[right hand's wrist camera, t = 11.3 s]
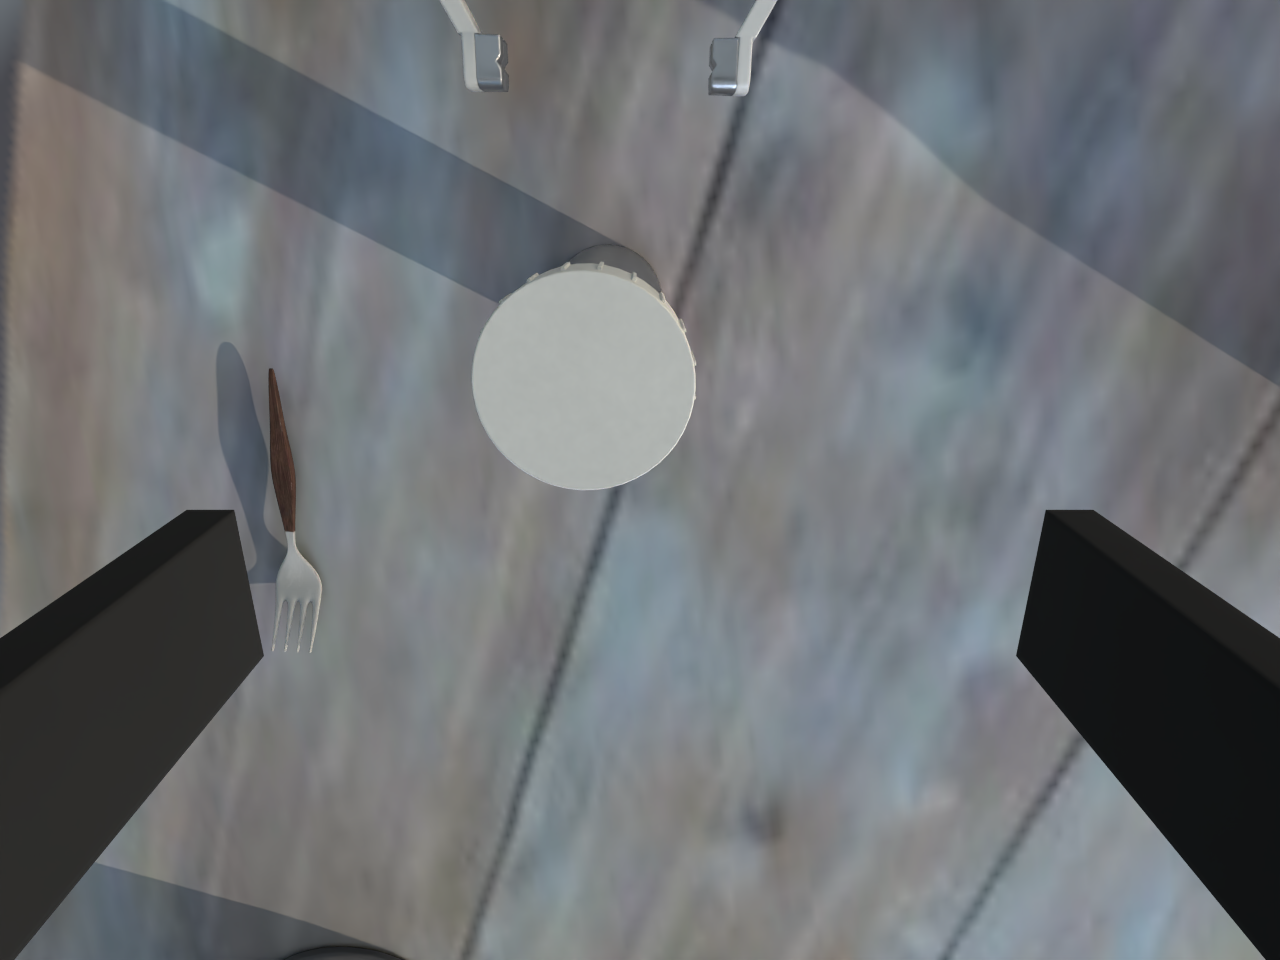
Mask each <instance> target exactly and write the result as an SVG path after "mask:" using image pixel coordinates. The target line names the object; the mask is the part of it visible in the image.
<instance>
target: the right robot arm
mask: <svg viewBox="0 0 1280 960" xmlns="http://www.w3.org/2000/svg"><path fill="white" fill-rule="evenodd" d="M263 656H264V654H263V650H262V645H261V640H260V635H259V630H258V625H257V620H256V615H255V610H254V605H253V600H252V595H251V591H250V586H249V581H248V576H247V571H246V566H245V561H244V556H243V551H242V546H241V541H240V536H239V532H238V527H237V522H236V517H235V512H234V510H186V511H185V512H183V513H182V514H180V515H179V516H177V517H176V518H174V519H173V520H171V521H170V522H169V523H167V524H166V525H164V526H163V527H161V528H160V529H158V530H157V531H155V532H154V533H153V534H151V535H150V536H148V537H147V538H145V539H144V540H142V541H141V542H140V543H138V544H137V545H135V546H134V547H132V548H131V549H129V550H128V551H126V552H125V553H124V554H122V555H121V556H119V557H118V558H116V559H115V560H113V561H112V562H110V563H109V564H108V565H106V566H105V567H103V568H102V569H100V570H99V571H97V572H96V573H94V574H93V575H92V576H90V577H89V578H87V579H86V580H84V581H83V582H81V583H80V584H79V585H77V586H76V587H74V588H73V589H71V590H70V591H68V592H67V593H65V594H64V595H63V596H61V597H60V598H58V599H57V600H55V601H54V602H52V603H51V604H49V605H48V606H47V607H45V608H44V609H42V610H41V611H39V612H38V613H36V614H35V615H33V616H32V617H31V618H29V619H28V620H26V621H25V622H23V623H22V624H20V625H19V626H18V627H16V628H15V629H13V630H12V631H10V632H9V633H7V634H6V635H4V636H3V637H2V638H0V960H14V959H15V958H16V957H17V956H18V954H19V953H20V952H21V951H22V950H23V948H24V947H25V946H26V945H27V944H28V942H29V941H30V940H31V939H32V937H33V936H34V935H35V934H36V933H37V931H38V930H39V929H40V928H41V926H42V925H43V924H44V923H45V922H46V920H47V919H48V918H49V917H50V916H51V914H52V913H53V912H54V911H55V909H56V908H57V907H58V906H59V905H60V903H61V902H62V901H63V900H64V898H65V897H66V896H67V895H68V894H69V892H70V891H71V890H72V889H73V888H74V886H75V885H76V884H77V883H78V881H79V880H80V879H81V878H82V877H83V875H84V874H85V873H86V872H87V870H88V869H89V868H90V867H91V866H92V864H93V863H94V862H95V861H96V860H97V858H98V857H99V856H100V855H101V853H102V852H103V851H104V850H105V849H106V847H107V846H108V845H109V844H110V842H111V841H112V840H113V839H114V838H115V836H116V835H117V834H118V833H119V832H120V830H121V829H122V828H123V827H124V825H125V824H126V823H127V822H128V821H129V819H130V818H131V817H132V816H133V814H134V813H135V812H136V811H137V810H138V808H139V807H140V806H141V805H142V804H143V802H144V801H145V800H146V799H147V797H148V796H149V795H150V794H151V793H152V791H153V790H154V789H155V788H156V786H157V785H158V784H159V783H160V782H161V780H162V779H163V778H164V777H165V776H166V774H167V773H168V772H169V771H170V769H171V768H172V767H173V766H174V765H175V763H176V762H177V761H178V760H179V758H180V757H181V756H182V755H183V754H184V752H185V751H186V750H187V749H188V748H189V746H190V745H191V744H192V743H193V741H194V740H195V739H196V738H197V737H198V735H199V734H200V733H201V732H202V730H203V729H204V728H205V727H206V726H207V724H208V723H209V722H210V721H211V720H212V718H213V717H214V716H215V715H216V713H217V712H218V711H219V710H220V709H221V707H222V706H223V705H224V704H225V702H226V701H227V700H228V699H229V698H230V696H231V695H232V694H233V693H234V692H235V690H236V689H237V688H238V687H239V685H240V684H241V683H242V682H243V681H244V679H245V678H246V677H247V676H248V674H249V673H250V672H251V671H252V670H253V668H254V667H255V666H256V665H257V664H258V662H259V661H260V660H261V659H262V657H263ZM1016 656H1017V657H1018V659H1019V660H1020V661H1021V662H1022V664H1023V665H1024V666H1025V667H1026V668H1027V670H1028V671H1029V672H1030V673H1031V674H1032V676H1033V677H1034V678H1035V679H1036V681H1037V682H1038V683H1039V684H1040V685H1041V687H1042V688H1043V689H1044V690H1045V692H1046V693H1047V694H1048V695H1049V696H1050V698H1051V699H1052V700H1053V701H1054V702H1055V704H1056V705H1057V706H1058V707H1059V709H1060V710H1061V711H1062V712H1063V713H1064V715H1065V716H1066V717H1067V718H1068V720H1069V721H1070V722H1071V723H1072V724H1073V726H1074V727H1075V728H1076V729H1077V730H1078V732H1079V733H1080V734H1081V735H1082V737H1083V738H1084V739H1085V740H1086V741H1087V743H1088V744H1089V745H1090V746H1091V748H1092V749H1093V750H1094V751H1095V752H1096V754H1097V755H1098V756H1099V757H1100V758H1101V760H1102V761H1103V762H1104V763H1105V765H1106V766H1107V767H1108V768H1109V769H1110V771H1111V772H1112V773H1113V774H1114V776H1115V777H1116V778H1117V779H1118V780H1119V782H1120V783H1121V784H1122V785H1123V786H1124V788H1125V789H1126V790H1127V791H1128V793H1129V794H1130V795H1131V796H1132V797H1133V799H1134V800H1135V801H1136V802H1137V804H1138V805H1139V806H1140V807H1141V808H1142V810H1143V811H1144V812H1145V813H1146V814H1147V816H1148V817H1149V818H1150V819H1151V821H1152V822H1153V823H1154V824H1155V825H1156V827H1157V828H1158V829H1159V830H1160V832H1161V833H1162V834H1163V835H1164V836H1165V838H1166V839H1167V840H1168V841H1169V842H1170V844H1171V845H1172V846H1173V847H1174V849H1175V850H1176V851H1177V852H1178V853H1179V855H1180V856H1181V857H1182V858H1183V860H1184V861H1185V862H1186V863H1187V864H1188V866H1189V867H1190V868H1191V869H1192V870H1193V872H1194V873H1195V874H1196V875H1197V877H1198V878H1199V879H1200V880H1201V881H1202V883H1203V884H1204V885H1205V886H1206V888H1207V889H1208V890H1209V891H1210V892H1211V894H1212V895H1213V896H1214V897H1215V898H1216V900H1217V901H1218V902H1219V903H1220V905H1221V906H1222V907H1223V908H1224V909H1225V911H1226V912H1227V913H1228V914H1229V916H1230V917H1231V918H1232V919H1233V920H1234V922H1235V923H1236V924H1237V925H1238V926H1239V928H1240V929H1241V930H1242V931H1243V933H1244V934H1245V935H1246V936H1247V937H1248V939H1249V940H1250V941H1251V942H1252V944H1253V945H1254V946H1255V947H1256V948H1257V950H1258V951H1259V952H1260V953H1261V954H1262V956H1263V957H1264V958H1265V959H1266V960H1280V638H1278V637H1277V636H1276V635H1274V634H1273V633H1271V632H1270V631H1268V630H1267V629H1265V628H1264V627H1262V626H1261V625H1260V624H1258V623H1257V622H1255V621H1254V620H1252V619H1251V618H1249V617H1248V616H1247V615H1245V614H1244V613H1242V612H1241V611H1239V610H1238V609H1236V608H1235V607H1233V606H1232V605H1231V604H1229V603H1228V602H1226V601H1225V600H1223V599H1222V598H1220V597H1219V596H1217V595H1216V594H1215V593H1213V592H1212V591H1210V590H1209V589H1207V588H1206V587H1204V586H1203V585H1201V584H1200V583H1199V582H1197V581H1196V580H1194V579H1193V578H1191V577H1190V576H1188V575H1187V574H1186V573H1184V572H1183V571H1181V570H1180V569H1178V568H1177V567H1175V566H1174V565H1172V564H1171V563H1170V562H1168V561H1167V560H1165V559H1164V558H1162V557H1161V556H1159V555H1158V554H1156V553H1155V552H1154V551H1152V550H1151V549H1149V548H1148V547H1146V546H1145V545H1143V544H1142V543H1140V542H1139V541H1138V540H1136V539H1135V538H1133V537H1132V536H1130V535H1129V534H1127V533H1126V532H1125V531H1123V530H1122V529H1120V528H1119V527H1117V526H1116V525H1114V524H1113V523H1111V522H1110V521H1109V520H1107V519H1106V518H1104V517H1103V516H1101V515H1100V514H1098V513H1097V512H1095V511H1094V510H1046V512H1045V517H1044V522H1043V527H1042V532H1041V536H1040V541H1039V546H1038V551H1037V556H1036V561H1035V566H1034V571H1033V576H1032V581H1031V586H1030V591H1029V595H1028V600H1027V605H1026V610H1025V615H1024V620H1023V625H1022V630H1021V635H1020V640H1019V645H1018V650H1017V654H1016ZM284 960H402V959H399V958H397V957H394V956H391V955H388V954H385V953H382V952H378V951H374V950H369V949H363V948H354V947H328V948H319V949H314V950H309V951H305V952H301V953H299V954H296V955H293V956H291V957H289V958H286V959H284Z"/></svg>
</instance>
